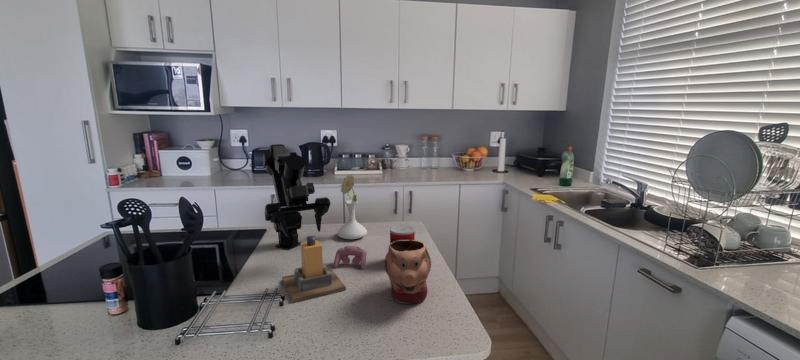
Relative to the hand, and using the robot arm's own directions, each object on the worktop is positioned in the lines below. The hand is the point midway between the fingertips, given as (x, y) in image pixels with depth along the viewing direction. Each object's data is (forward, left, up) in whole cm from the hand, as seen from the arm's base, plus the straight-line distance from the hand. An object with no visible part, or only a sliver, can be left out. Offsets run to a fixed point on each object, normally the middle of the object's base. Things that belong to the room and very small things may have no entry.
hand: (303, 233), depth 105 cm
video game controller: (+8, +11, -13) cm, 19 cm away
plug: (+7, -4, -11) cm, 14 cm away
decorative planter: (+32, +5, -13) cm, 34 cm away
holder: (+7, -4, -12) cm, 15 cm away
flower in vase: (-6, +32, -13) cm, 35 cm away
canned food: (+21, +22, -13) cm, 33 cm away
